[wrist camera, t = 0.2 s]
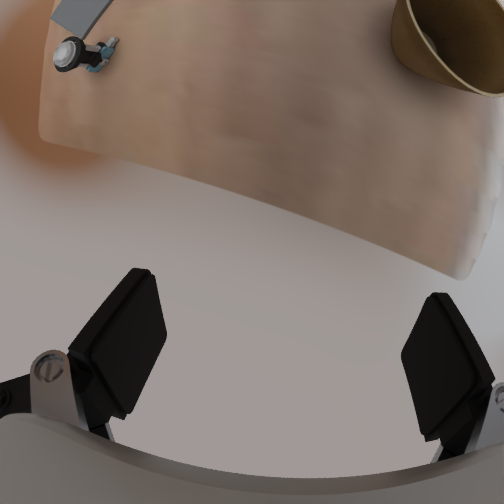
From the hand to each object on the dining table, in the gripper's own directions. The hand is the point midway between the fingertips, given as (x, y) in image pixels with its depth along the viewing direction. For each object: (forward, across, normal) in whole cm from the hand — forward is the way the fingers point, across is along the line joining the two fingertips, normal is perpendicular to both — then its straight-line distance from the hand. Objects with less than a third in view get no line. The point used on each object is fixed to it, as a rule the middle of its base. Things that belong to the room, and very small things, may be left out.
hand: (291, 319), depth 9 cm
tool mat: (+31, +33, -33) cm, 56 cm away
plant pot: (+31, -17, -19) cm, 40 cm away
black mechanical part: (+31, +29, -18) cm, 46 cm away
